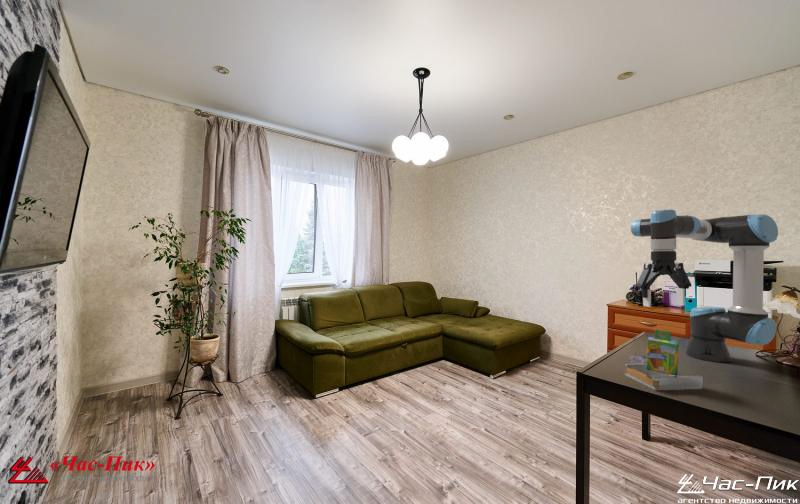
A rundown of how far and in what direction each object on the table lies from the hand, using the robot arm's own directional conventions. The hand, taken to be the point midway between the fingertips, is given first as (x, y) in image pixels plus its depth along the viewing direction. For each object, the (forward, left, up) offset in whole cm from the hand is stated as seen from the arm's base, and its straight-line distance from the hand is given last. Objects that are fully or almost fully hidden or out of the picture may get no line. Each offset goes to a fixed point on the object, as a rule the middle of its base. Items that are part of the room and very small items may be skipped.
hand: (663, 305), depth 120 cm
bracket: (+1, 0, -29) cm, 29 cm away
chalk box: (+1, +1, -25) cm, 25 cm away
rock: (-4, -13, -29) cm, 32 cm away
